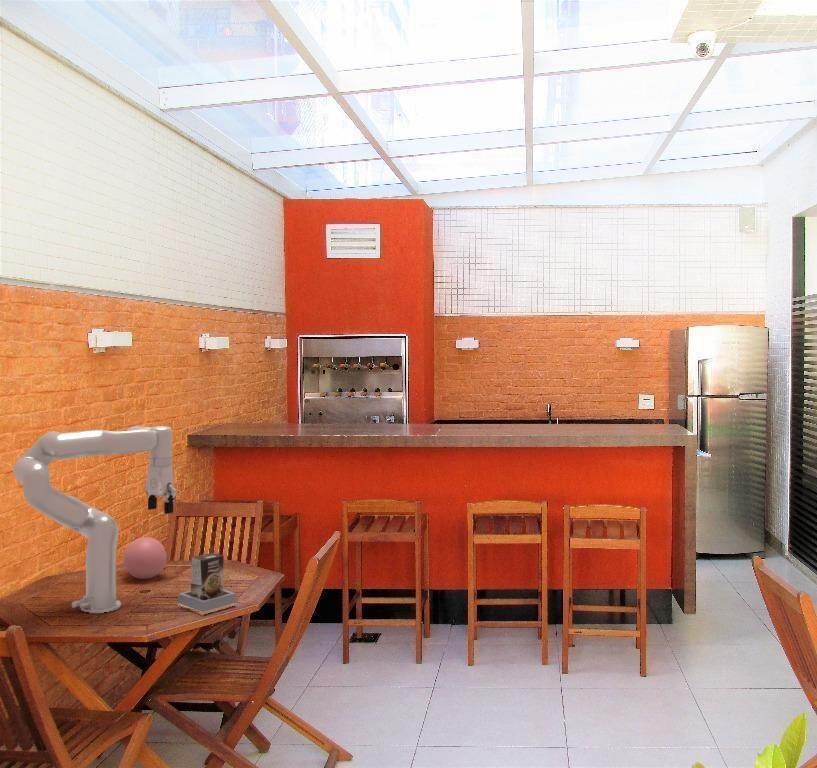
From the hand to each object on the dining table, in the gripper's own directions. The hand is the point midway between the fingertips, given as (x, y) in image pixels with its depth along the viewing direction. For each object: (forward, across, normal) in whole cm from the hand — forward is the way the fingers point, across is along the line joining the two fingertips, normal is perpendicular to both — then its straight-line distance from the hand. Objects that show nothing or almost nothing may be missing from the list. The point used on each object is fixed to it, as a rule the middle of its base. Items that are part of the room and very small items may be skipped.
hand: (160, 511), depth 296 cm
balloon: (+31, -26, +10) cm, 41 cm away
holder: (+30, +20, +5) cm, 37 cm away
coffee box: (+29, +20, +5) cm, 36 cm away
